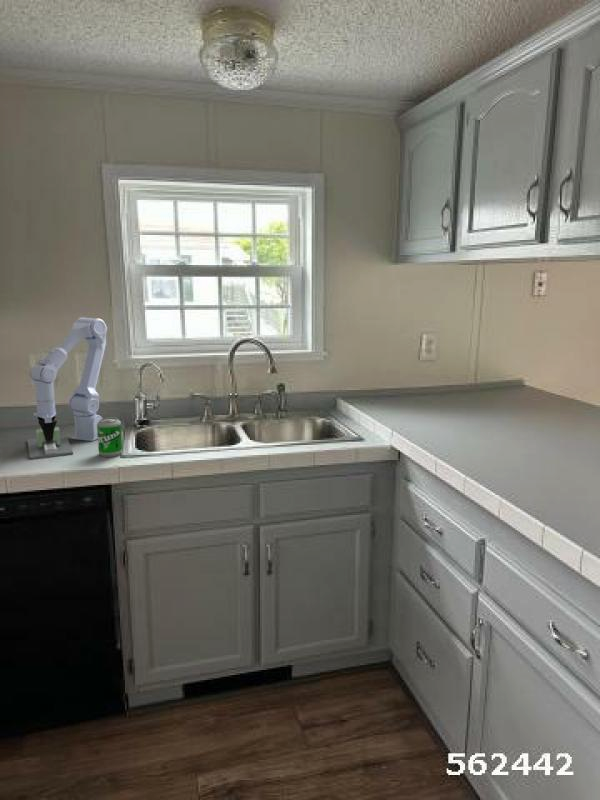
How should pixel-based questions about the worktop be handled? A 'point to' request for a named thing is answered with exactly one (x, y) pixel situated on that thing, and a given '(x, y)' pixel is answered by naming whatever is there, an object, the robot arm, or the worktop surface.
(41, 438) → the module
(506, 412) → the worktop surface
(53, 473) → the worktop surface
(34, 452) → the board
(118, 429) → the soda can
